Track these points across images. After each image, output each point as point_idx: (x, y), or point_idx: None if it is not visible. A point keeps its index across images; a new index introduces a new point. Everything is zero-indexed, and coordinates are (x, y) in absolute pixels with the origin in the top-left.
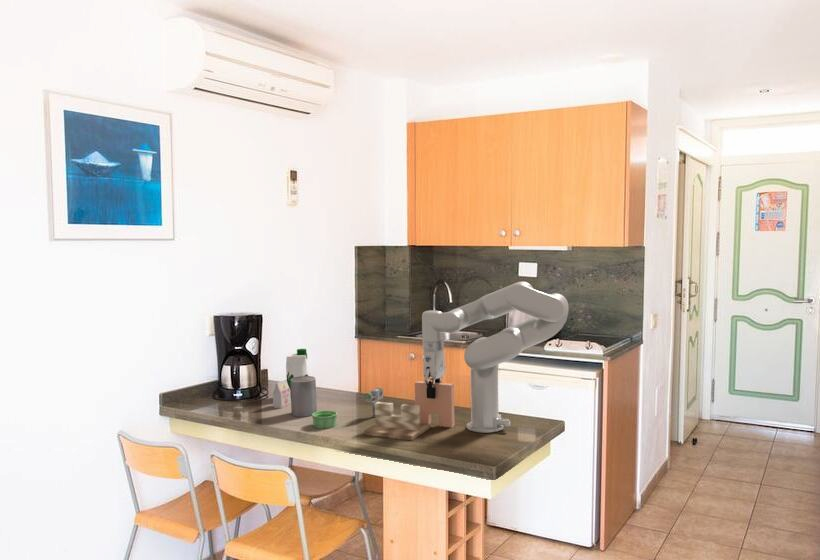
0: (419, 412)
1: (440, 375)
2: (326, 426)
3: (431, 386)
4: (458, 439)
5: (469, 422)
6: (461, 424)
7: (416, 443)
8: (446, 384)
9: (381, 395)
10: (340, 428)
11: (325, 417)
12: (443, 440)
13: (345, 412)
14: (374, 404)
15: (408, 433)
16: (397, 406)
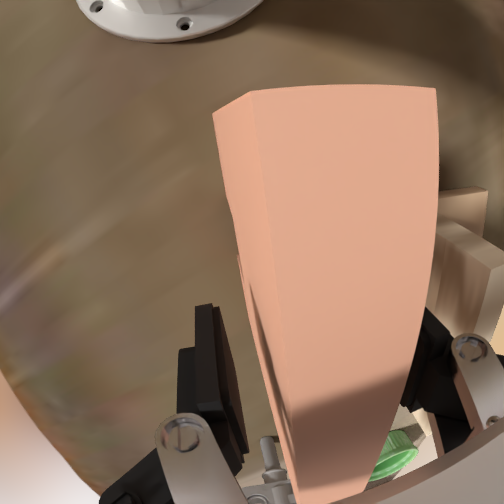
0: (466, 249)
1: (481, 484)
2: (404, 432)
3: (484, 352)
4: (409, 12)
5: (171, 33)
6: (168, 92)
7: (492, 156)
8: (401, 235)
9: (247, 498)
10: (399, 416)
11: (416, 448)
12: (444, 69)
13: (263, 483)
14: (284, 472)
15: (470, 221)
16: (122, 449)
